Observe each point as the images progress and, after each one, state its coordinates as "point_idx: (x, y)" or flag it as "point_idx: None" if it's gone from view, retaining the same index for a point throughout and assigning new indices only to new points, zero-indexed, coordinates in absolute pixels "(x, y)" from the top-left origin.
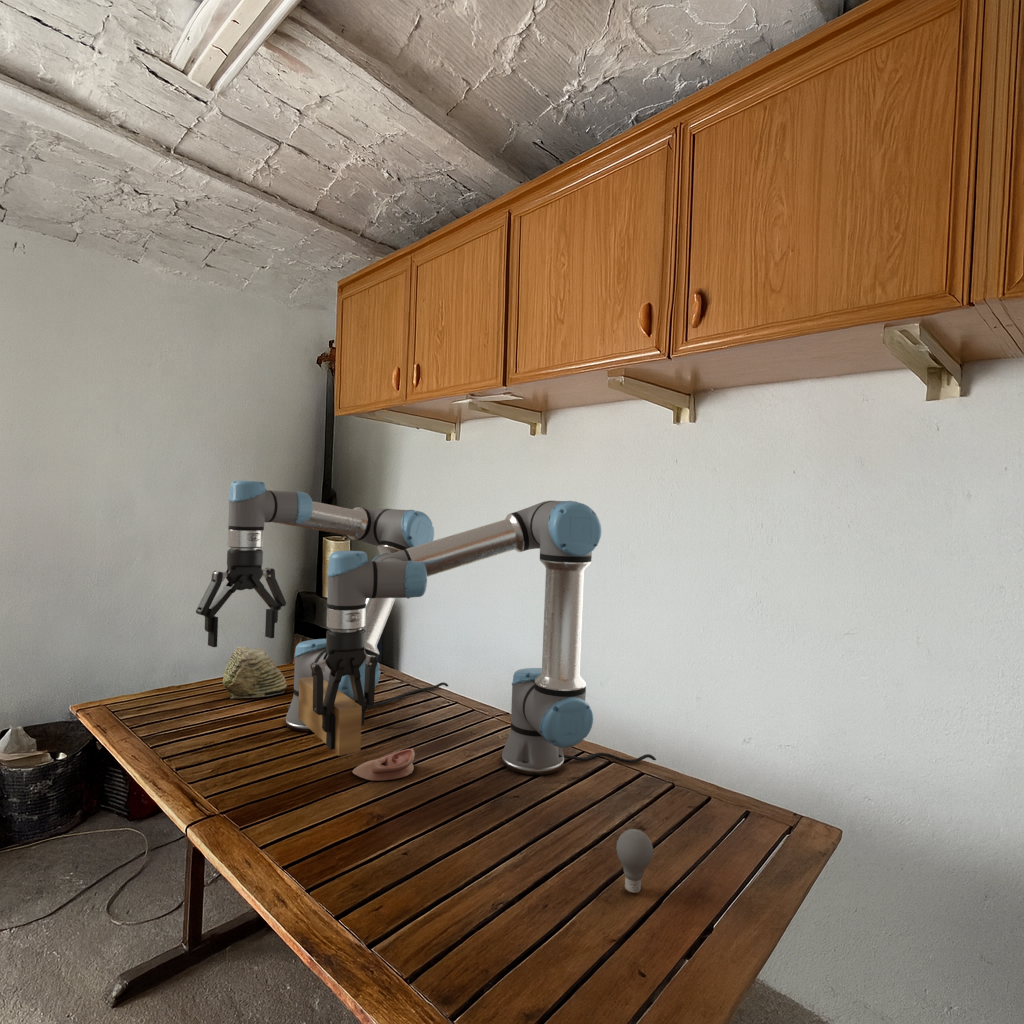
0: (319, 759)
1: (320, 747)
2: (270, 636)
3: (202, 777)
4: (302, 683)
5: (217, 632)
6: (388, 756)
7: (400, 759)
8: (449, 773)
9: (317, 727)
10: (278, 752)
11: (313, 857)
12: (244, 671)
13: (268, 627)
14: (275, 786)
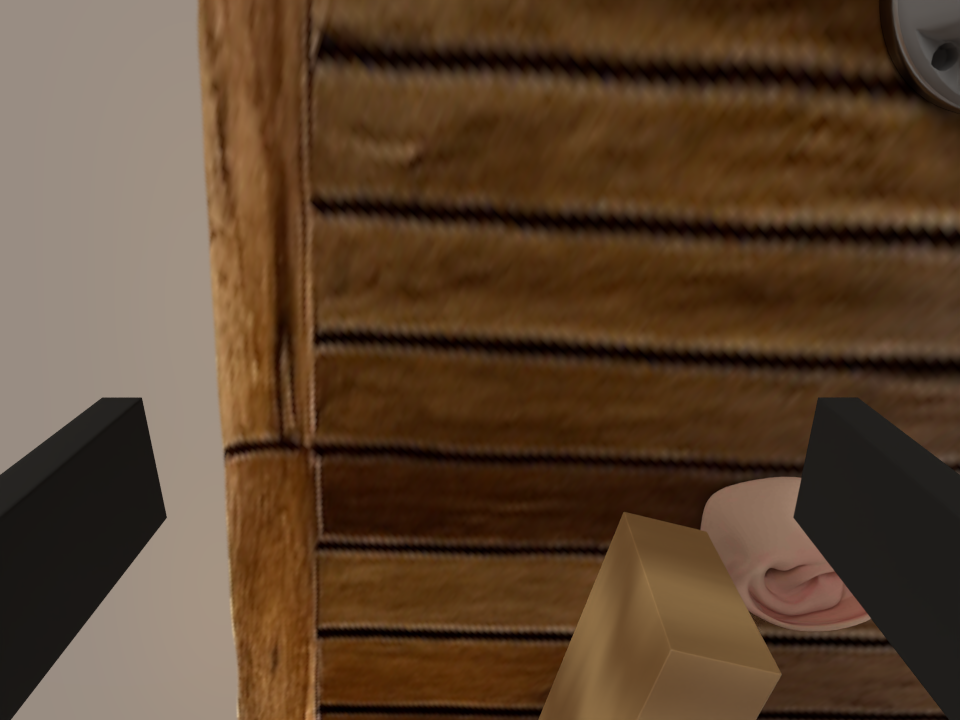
0: (722, 341)
1: (804, 252)
2: (805, 514)
3: (365, 191)
4: (646, 683)
5: (75, 633)
6: (816, 563)
7: (823, 594)
8: (873, 657)
9: (553, 717)
10: (672, 180)
11: (381, 717)
12: None
13: (873, 532)
14: (501, 413)
